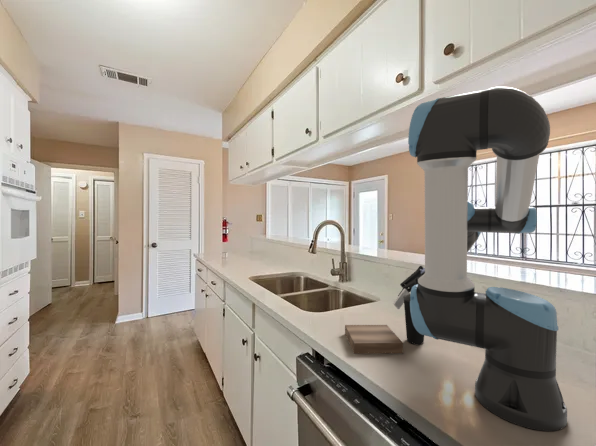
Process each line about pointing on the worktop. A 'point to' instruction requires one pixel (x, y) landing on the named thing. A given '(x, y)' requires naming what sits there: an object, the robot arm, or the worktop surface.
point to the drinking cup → (411, 323)
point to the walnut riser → (373, 339)
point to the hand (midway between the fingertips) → (408, 311)
